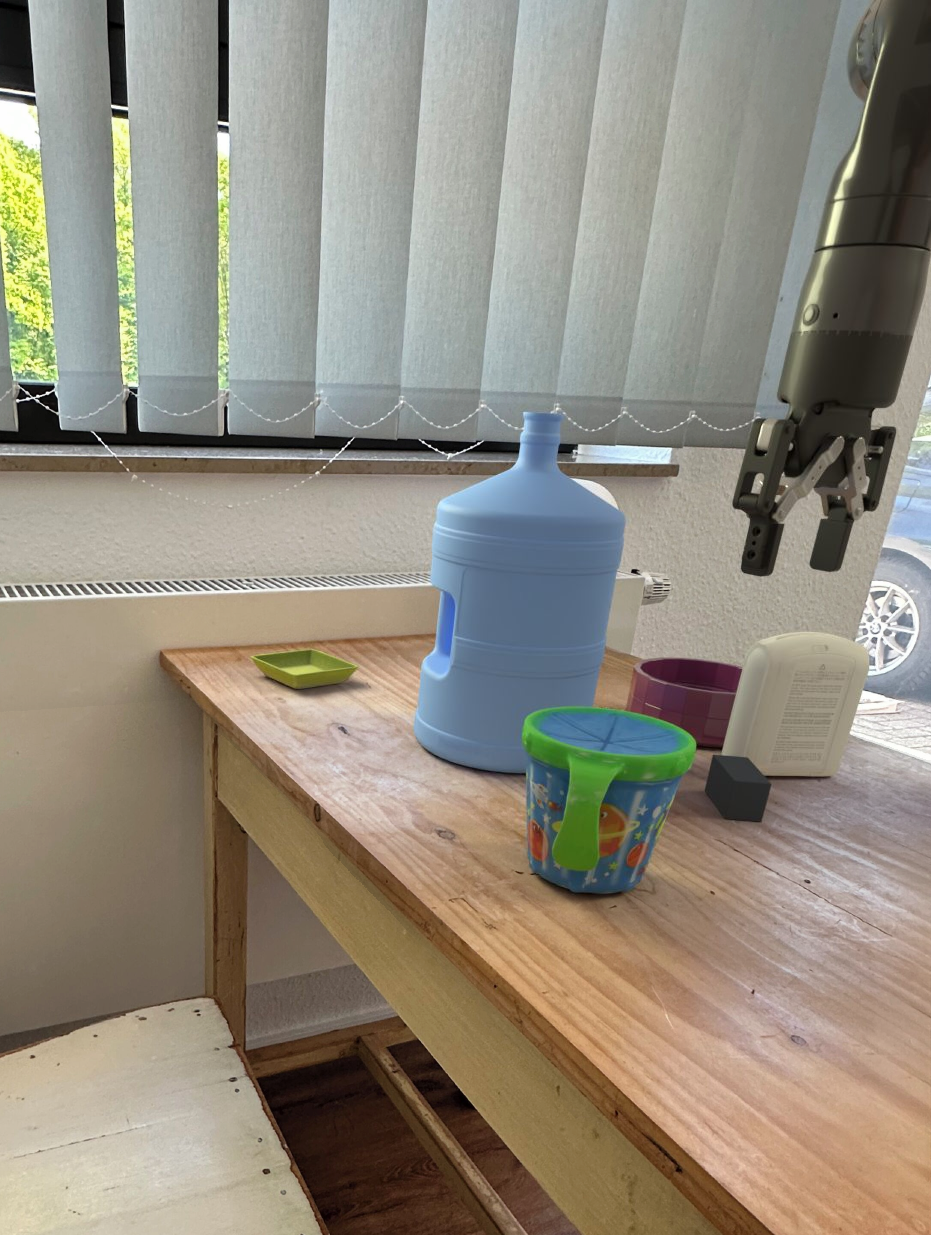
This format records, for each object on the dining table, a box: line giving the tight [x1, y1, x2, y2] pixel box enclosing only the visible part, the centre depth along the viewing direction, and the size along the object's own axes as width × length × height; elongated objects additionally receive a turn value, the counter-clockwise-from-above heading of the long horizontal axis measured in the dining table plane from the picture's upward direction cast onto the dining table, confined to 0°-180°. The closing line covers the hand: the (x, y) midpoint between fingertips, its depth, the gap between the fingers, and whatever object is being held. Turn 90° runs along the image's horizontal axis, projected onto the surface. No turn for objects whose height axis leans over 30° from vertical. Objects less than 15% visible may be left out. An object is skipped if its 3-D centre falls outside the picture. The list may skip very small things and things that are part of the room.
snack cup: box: [522, 706, 697, 895], centre depth 62 cm, size 16×10×10 cm
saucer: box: [250, 648, 359, 690], centre depth 104 cm, size 9×9×2 cm
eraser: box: [704, 754, 772, 823], centre depth 76 cm, size 6×3×3 cm, turn 174°
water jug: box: [413, 411, 627, 774], centre depth 81 cm, size 16×16×28 cm
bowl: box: [625, 657, 743, 749], centre depth 94 cm, size 13×13×6 cm
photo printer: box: [721, 631, 871, 777], centre depth 82 cm, size 10×4×12 cm, turn 98°
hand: (790, 572), depth 71 cm, fingers open, 8 cm apart
